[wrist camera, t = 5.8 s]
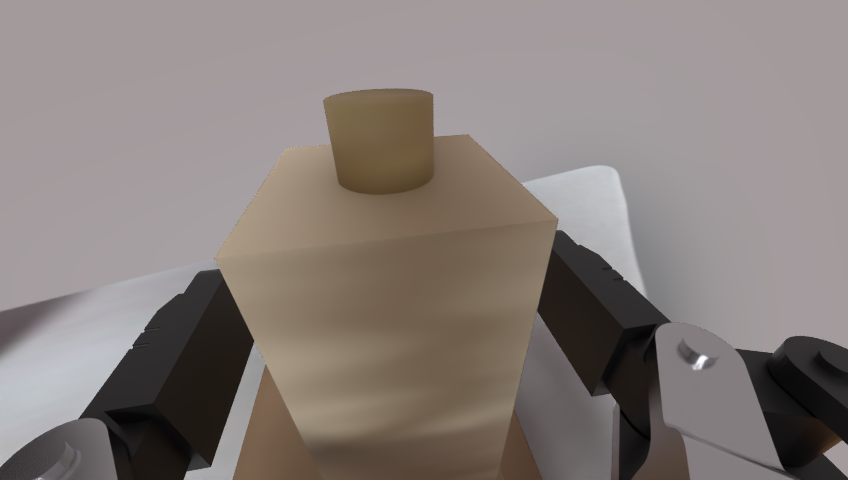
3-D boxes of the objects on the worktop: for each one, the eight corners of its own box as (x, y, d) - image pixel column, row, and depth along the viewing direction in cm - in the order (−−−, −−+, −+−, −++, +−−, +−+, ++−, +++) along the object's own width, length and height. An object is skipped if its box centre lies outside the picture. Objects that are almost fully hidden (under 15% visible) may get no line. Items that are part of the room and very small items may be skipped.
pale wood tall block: (334, 573, 9) (49, 173, 2) (343, 386, 13) (256, 80, 7) (510, 531, 9) (664, 126, 3) (460, 366, 14) (479, 69, 7)
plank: (203, 710, 8) (166, 709, 7) (303, 279, 22) (296, 256, 21) (571, 608, 9) (588, 594, 8) (444, 262, 23) (444, 239, 22)
